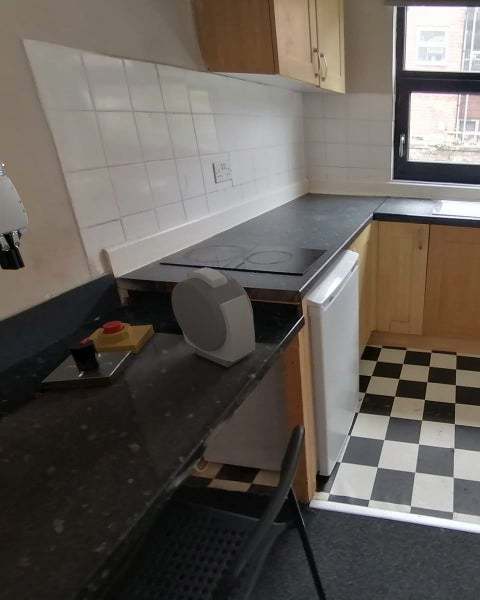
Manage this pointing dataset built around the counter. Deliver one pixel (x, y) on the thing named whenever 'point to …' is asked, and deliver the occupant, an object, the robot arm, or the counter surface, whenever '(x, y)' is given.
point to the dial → (85, 354)
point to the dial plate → (88, 372)
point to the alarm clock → (215, 315)
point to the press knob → (113, 327)
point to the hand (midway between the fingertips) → (13, 268)
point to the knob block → (122, 338)
